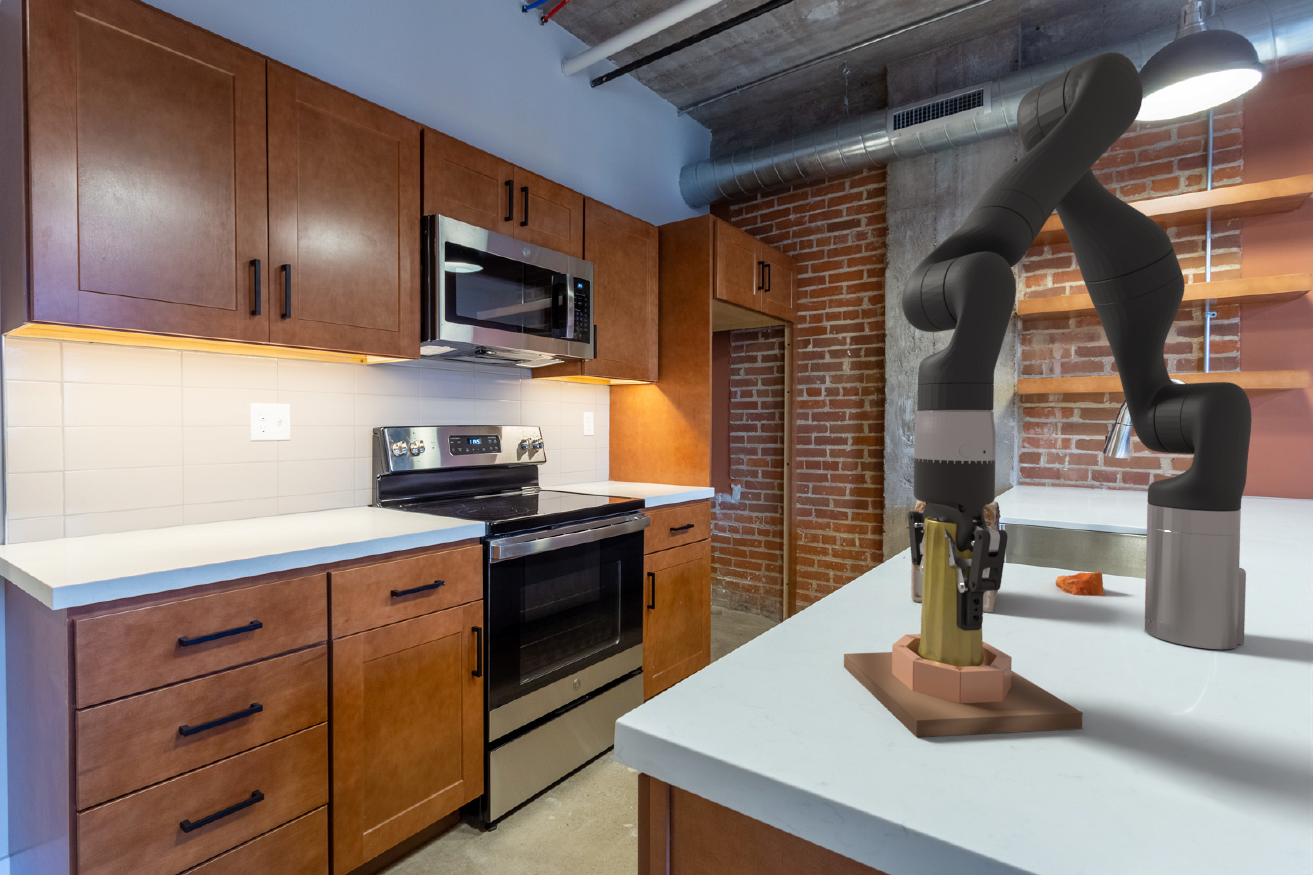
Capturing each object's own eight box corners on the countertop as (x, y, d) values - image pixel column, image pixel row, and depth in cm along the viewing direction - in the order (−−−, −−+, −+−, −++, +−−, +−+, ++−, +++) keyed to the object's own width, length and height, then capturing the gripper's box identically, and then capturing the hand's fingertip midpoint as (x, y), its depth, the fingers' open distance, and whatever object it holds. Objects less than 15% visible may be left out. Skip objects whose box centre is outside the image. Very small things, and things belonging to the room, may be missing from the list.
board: (975, 661, 73) (975, 648, 73) (1082, 728, 57) (1082, 712, 57) (843, 666, 71) (844, 653, 71) (916, 736, 55) (916, 720, 55)
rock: (1020, 587, 109) (1020, 563, 108) (1077, 584, 111) (1078, 560, 111) (1081, 607, 97) (1082, 580, 97) (1143, 603, 100) (1144, 576, 100)
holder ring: (967, 658, 70) (967, 632, 70) (1032, 699, 59) (1033, 668, 59) (878, 662, 69) (878, 635, 69) (929, 704, 58) (929, 673, 58)
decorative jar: (909, 602, 97) (910, 487, 97) (921, 585, 107) (922, 481, 107) (996, 614, 91) (998, 492, 91) (1000, 596, 101) (1002, 485, 101)
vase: (992, 671, 60) (994, 525, 60) (925, 666, 62) (927, 523, 61) (973, 649, 66) (975, 516, 66) (912, 645, 68) (914, 514, 67)
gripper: (1038, 459, 57) (1034, 643, 57) (948, 452, 71) (946, 598, 72) (960, 459, 56) (957, 645, 56) (885, 452, 70) (883, 600, 71)
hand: (951, 618), depth 64 cm, fingers closed on vase, 5 cm apart
